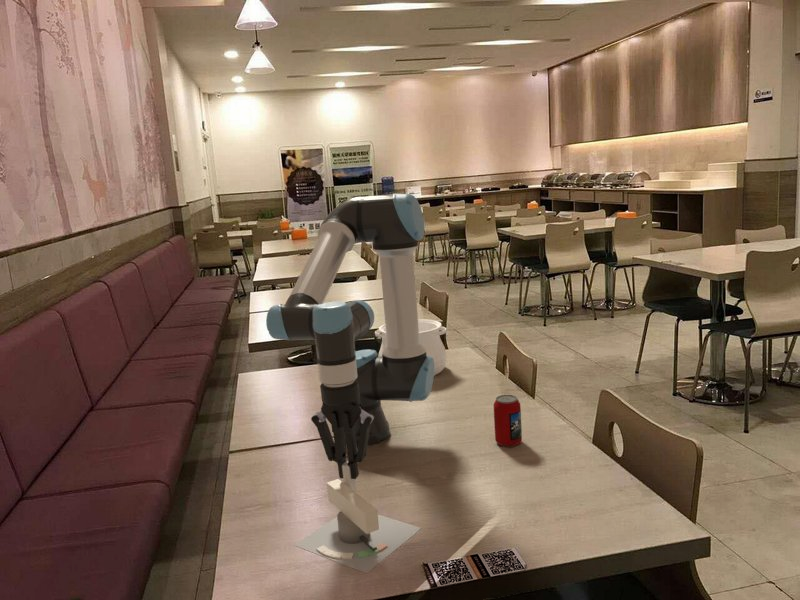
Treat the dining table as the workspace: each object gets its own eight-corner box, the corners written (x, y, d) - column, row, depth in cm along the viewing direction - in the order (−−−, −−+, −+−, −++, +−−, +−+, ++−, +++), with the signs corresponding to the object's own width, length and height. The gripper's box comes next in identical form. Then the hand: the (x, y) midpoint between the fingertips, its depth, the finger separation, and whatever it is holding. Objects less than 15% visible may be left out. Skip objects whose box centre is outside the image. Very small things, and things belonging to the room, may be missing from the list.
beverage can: (521, 448, 164) (519, 402, 161) (494, 448, 165) (492, 402, 163) (522, 437, 170) (520, 393, 168) (496, 437, 172) (493, 393, 169)
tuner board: (294, 550, 126) (294, 543, 125) (352, 511, 139) (351, 504, 139) (367, 579, 115) (366, 571, 115) (422, 533, 128) (421, 526, 128)
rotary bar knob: (361, 559, 119) (357, 517, 117) (323, 523, 133) (319, 485, 131) (389, 548, 122) (385, 506, 120) (349, 514, 136) (345, 476, 134)
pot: (371, 383, 225) (367, 335, 222) (384, 362, 249) (381, 319, 246) (445, 381, 221) (442, 333, 218) (451, 361, 244) (449, 317, 241)
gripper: (376, 375, 130) (386, 485, 134) (316, 375, 134) (328, 482, 138) (363, 387, 123) (375, 503, 127) (300, 387, 127) (314, 499, 131)
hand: (350, 492), depth 133 cm, fingers closed
